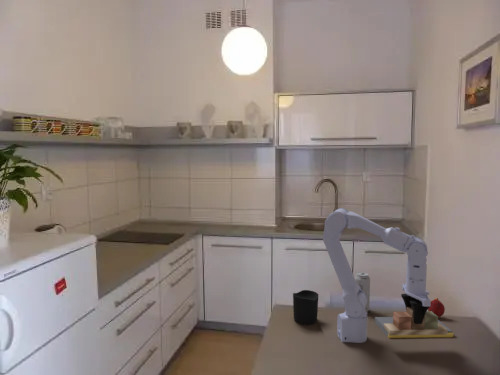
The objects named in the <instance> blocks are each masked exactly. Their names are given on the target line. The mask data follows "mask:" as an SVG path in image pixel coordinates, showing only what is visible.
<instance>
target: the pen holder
mask: <svg viewBox="0 0 500 375" xmlns="http://www.w3.org/2000/svg"><path fill="white" fill-rule="evenodd" d="M292 303H293V305H292V308H293V309H292V310H293V320H294V321H295V322H296V323H297V324H299V323H300V324H299V325H304V324H306V326H307V324H310V325H314V324H316V323H317V321H318V312H319V310H318V309H319V308H318V307H319V306H318V305H319V293H318V292H316V291H313V290H311V289H310V290H309V289H303V290H300V291H298V292H293V293H292ZM313 323H314V324H313Z"/></svg>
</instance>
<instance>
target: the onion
mask: <svg viewBox="0 0 500 375" xmlns="http://www.w3.org/2000/svg"><path fill="white" fill-rule="evenodd" d="M445 308H446V307H445V305H444V304H443V303H442V302H441V301H440V299H439V298H438V297H435V298H434V299H432V300H431V306H430V307H429V308H428V310H427V311H432V312H433V313H434V314H435V315H437V316H438V319H439V318H441V317H442V316H443V315H444V314H445V310H446V309H445Z"/></svg>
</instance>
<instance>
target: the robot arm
mask: <svg viewBox="0 0 500 375" xmlns="http://www.w3.org/2000/svg"><path fill="white" fill-rule="evenodd" d="M346 228H347V229H357V228H358V229H360V230H363V231H366V232H368V233H370V234H372V235H375V236H377V237H379V238H381V239H382V242H383V243H384V244H385V245H387V246H390V248H391V247H392V248H394V249H395V250H398V251H399V252H401V253H406V255H407V261H406V272H405V274H406V276H405V283H402V284H401V285H402V286H401V290H402V291H403V292H404V293H401V295H400V296H401V298H402V300H403V304H404V305H405V306H404V307H405V308H406V307H412V309H413V317H414V323H415V324H422V322H423V319H424V316H425V313H426V311H428V308H429V307H430V306H431V301H432V300H431V299H430V298H429V296H428V295H430V292H429V291H428V290H427V270H428V264H427V261H428V259H427V256H428V253H429V252H428V245H427V243H426V241H425V240H423V239H422V238H421V237H417V236H415V235H414V234H411V235H410V234H407V233H406V232H403V231H402V230H401V228H400V227H397V226H396V227H393V226H391V227H388V228H387V227H384V226H383V225H382V226H381V225H380V224H377V223H376V222H374V221H372V220H370V219H368V218H367V217H364V216H362V215H360V214H359V213H356V212H354V211H351V210H348V209H347V208H346V209H345V208H342V207H341V208H337V209H335V210H334V211H332V212H331V213H329V214H328V216H327V217H326V219H325V220H324V229H323V234H322V241H323V244H324V246H325V249H326V251H327V254H328V256H329V259H330V262H331V263H332V266H333V269H334V271H335V273H336V277H337V279H338V282H339V283H340V286H341V289H342V299H343V301H344V304H343V305H344V308H343V309H344V312H342V313H338V314H337V318H336V335H337V336H338V338H339V340H340V342H341V343H354V344H355V343H357V344H362V343H365V342H367V338H368V312H366V310H365V306H366V305H367V303H368V298H367V296H366V294H365V293H364V292H363V291H362V290H361V288H360V286H359V285H358V284H357V283H356V280H355V278H354V277H355V275H354V273H353V271H352V268H351V266H350V263H349V260H348V258H347V256H346V252H345V251H344V248H343V246H342V244H341V241H340V237H341V236H342V233H343V231H344V230H345V229H346Z"/></svg>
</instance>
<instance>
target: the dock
mask: <svg viewBox="0 0 500 375" xmlns="http://www.w3.org/2000/svg"><path fill="white" fill-rule="evenodd" d="M374 323H375V324H376V325H377V326H378V328H380V330H381V331H382V332H383V333H384V334H385V336H386V337H387V338H388V339H403V338H404V339H411V338H412V339H414V338H418V339H419V338H421V339H422V338H454V332H453V330H452V329H451V328H449V327H448V326H447V325H445V324H444V323H443V322H442V321H440V320H439V319H438V323H440V324H441V325H442V326H444V327H445V328H446V329H447V330H448V335H389V334H388V333H387V331H386V330H385V329H384V324H385V323H393V316H374Z"/></svg>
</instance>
